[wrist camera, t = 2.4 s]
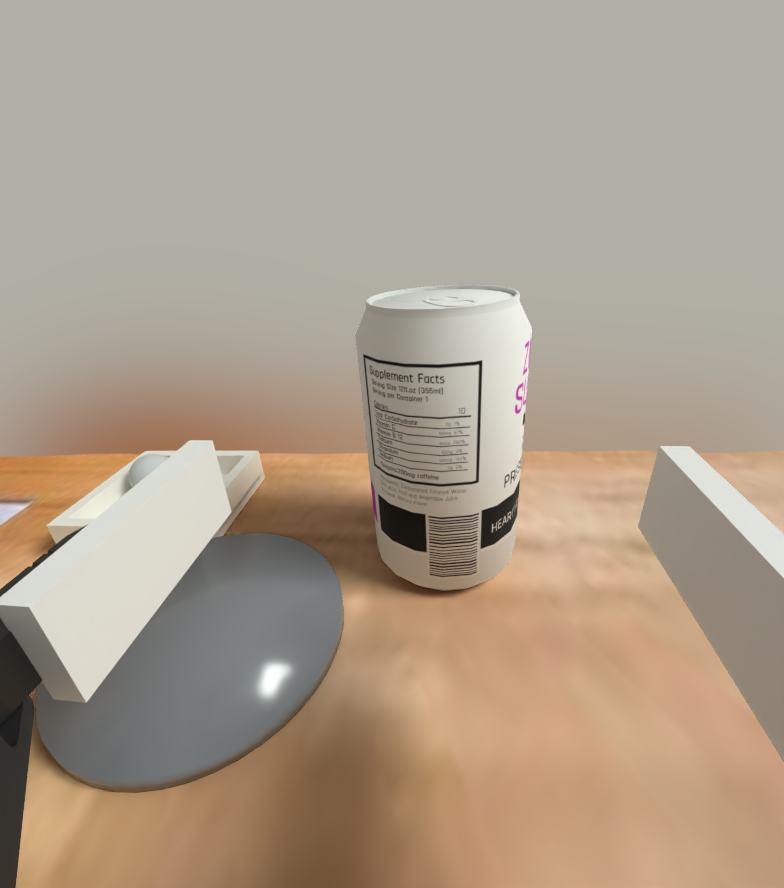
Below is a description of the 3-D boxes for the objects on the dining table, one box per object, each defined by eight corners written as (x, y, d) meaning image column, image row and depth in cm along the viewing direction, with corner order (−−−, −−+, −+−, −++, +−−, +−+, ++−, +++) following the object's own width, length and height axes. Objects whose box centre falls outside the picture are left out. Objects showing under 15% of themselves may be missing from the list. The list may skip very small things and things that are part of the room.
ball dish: (264, 478, 36) (258, 450, 34) (203, 562, 27) (192, 529, 26) (155, 477, 37) (145, 451, 36) (63, 557, 28) (46, 525, 27)
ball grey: (190, 481, 34) (178, 446, 33) (166, 505, 32) (152, 467, 30) (153, 481, 35) (140, 446, 33) (127, 504, 32) (112, 467, 31)
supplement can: (360, 530, 29) (331, 296, 22) (467, 497, 31) (470, 279, 24) (412, 620, 22) (392, 321, 15) (542, 568, 24) (576, 293, 18)
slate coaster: (365, 545, 27) (364, 535, 27) (295, 813, 15) (290, 801, 15) (164, 539, 29) (160, 530, 29) (-46, 772, 17) (-57, 760, 16)
